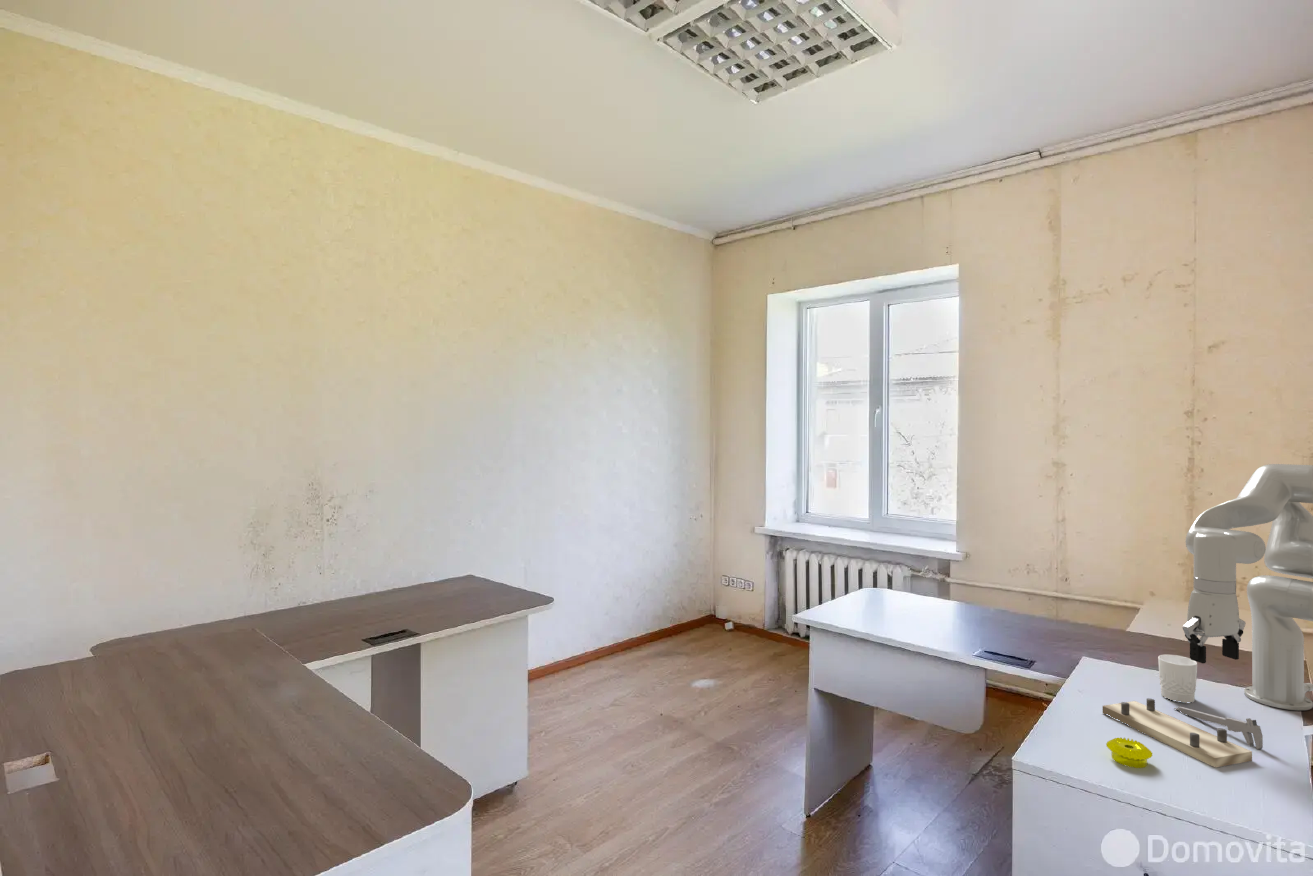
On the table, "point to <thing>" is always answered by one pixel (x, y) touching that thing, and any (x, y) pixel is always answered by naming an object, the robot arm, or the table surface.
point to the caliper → (1232, 725)
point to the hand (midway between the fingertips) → (1214, 659)
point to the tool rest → (1179, 733)
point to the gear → (1129, 752)
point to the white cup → (1177, 677)
